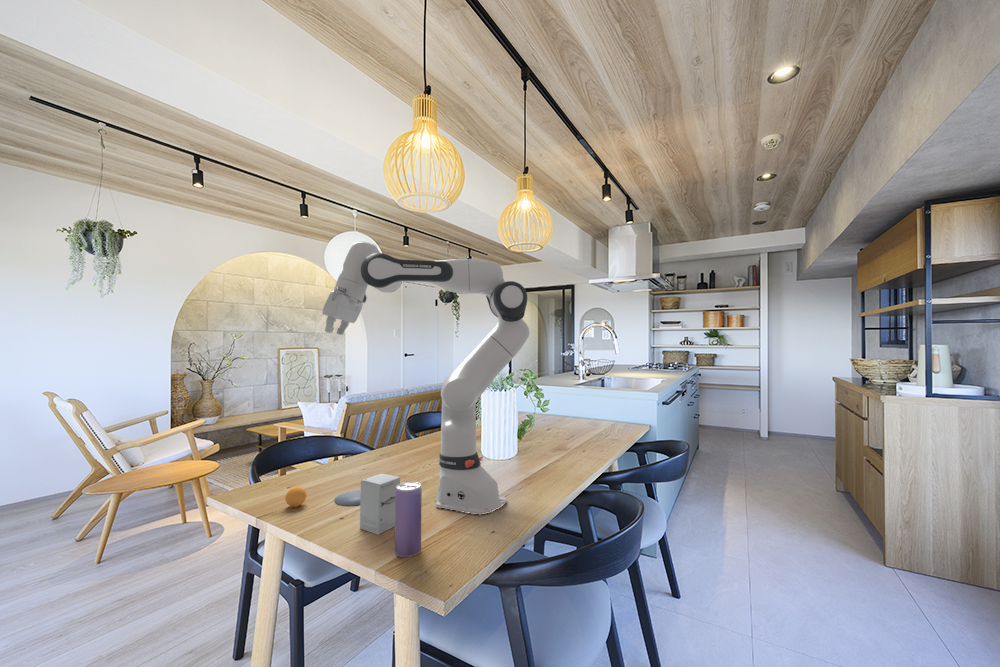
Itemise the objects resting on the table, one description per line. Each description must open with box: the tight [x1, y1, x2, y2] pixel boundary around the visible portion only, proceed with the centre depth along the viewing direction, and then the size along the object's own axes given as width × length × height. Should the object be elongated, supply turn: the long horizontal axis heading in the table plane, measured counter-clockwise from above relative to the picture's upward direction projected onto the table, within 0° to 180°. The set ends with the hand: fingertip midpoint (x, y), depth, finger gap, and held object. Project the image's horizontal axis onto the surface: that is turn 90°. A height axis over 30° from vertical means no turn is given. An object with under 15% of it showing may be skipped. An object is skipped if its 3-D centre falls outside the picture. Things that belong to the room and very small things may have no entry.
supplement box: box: [359, 473, 401, 536], centre depth 106 cm, size 7×7×13 cm
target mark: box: [333, 489, 361, 507], centre depth 126 cm, size 13×13×1 cm
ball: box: [284, 486, 307, 508], centre depth 120 cm, size 6×6×6 cm
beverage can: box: [394, 481, 423, 558], centre depth 93 cm, size 6×6×15 cm
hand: (334, 333), depth 124 cm, fingers open, 8 cm apart
